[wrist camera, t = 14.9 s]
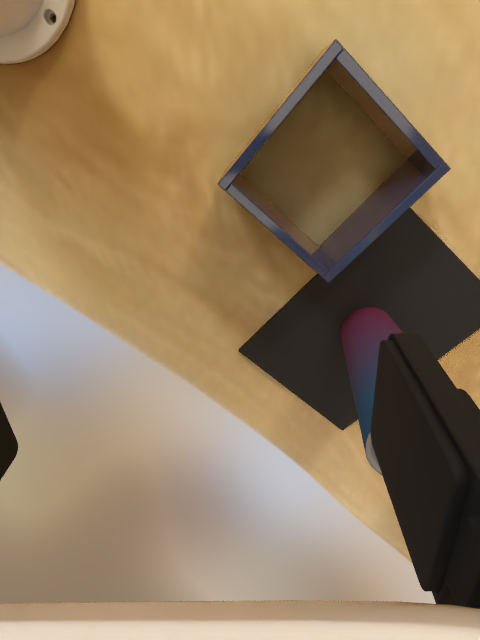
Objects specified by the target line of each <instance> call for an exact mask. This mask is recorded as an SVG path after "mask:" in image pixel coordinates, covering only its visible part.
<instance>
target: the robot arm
mask: <svg viewBox="0 0 480 640" xmlns="http://www.w3.org/2000/svg"><path fill="white" fill-rule="evenodd" d="M74 3H75V0H0V64H12V63H21V62H24V61H28V60H31V59H34V58H36V57H37V56H39V55H41V54H42V53H44V52H45V51H47V50H48V49H49V48H50V47H51V46H52V45H53V44H54V43H55V42H56V41H57V40H58V39H59V37H60V36H61V34H62V32H63V31H64V29H65V27H66V26H67V24H68V21H69V19H70V16H71V13H72V10H73V8H74ZM54 15H56V22H55V23H54V22H53V19H52V18H53V16H54ZM370 434H371V442H372V446H373V449H374V452H375V455H376V458H377V461H378V463H379V466H380V469H381V472H382V475H383V478H384V481H385V484H386V487H387V490H388V493H389V496H390V498H391V501H392V504H393V507H394V510H395V513H396V516H397V519H398V522H399V525H400V528H401V531H402V533H403V536H404V539H405V542H406V545H407V548H408V551H409V554H410V557H411V560H412V563H413V566H414V568H415V571H416V574H417V577H418V580H419V583H420V585H421V587H422V589H423V590H424V591H432V593H433V596H434V599H435V602H436V604H427V603H410V602H377V601H376V602H374V601H370V602H369V601H184V602H183V601H173V602H172V601H171V602H77V603H7V604H6V603H2V604H0V640H480V410H479V408H478V407H477V405H476V404H475V403H474V401H473V400H472V399H471V397H470V396H469V395H468V394H467V392H466V391H465V390H462V389H457V388H456V387H455V385H454V384H453V382H452V381H451V380H450V378H449V377H448V375H447V374H446V372H445V371H444V369H443V368H442V367H441V365H440V364H439V362H438V361H437V359H436V358H435V357H434V355H433V354H432V352H431V351H430V349H429V348H428V346H427V345H426V344H425V342H424V341H423V339H422V338H421V336H420V335H419V334H418V333H417V332H409V333H391V334H390V335H389V337H388V340H382V341H381V342H380V346H379V354H378V364H377V373H376V382H375V392H374V401H373V410H372V420H371V430H370ZM17 451H18V443H17V440H16V437H15V435H14V433H13V431H12V428H11V426H10V424H9V422H8V419H7V417H6V415H5V412H4V410H3V408H2V405H1V403H0V480H1V478H2V477H3V475H4V474H5V472H6V470H7V469H8V468H9V466H10V464H11V463H12V461H13V460H14V458H15V456H16V454H17Z"/></svg>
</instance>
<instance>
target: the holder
mask: <svg viewBox="0 0 480 640" xmlns="http://www.w3.org/2000/svg"><path fill="white" fill-rule="evenodd" d="M325 70H327V71H328V72H329V74H330V75H331V76H332V77H333V78H334V79H335V80H336V81H337V82H338V83H339V84H340V86H341V87H342V88H343V89H344V90H345V91H346V92H347V93H348V94H349V95H350V96H351V98H352V99H353V100H354V101H355V102H356V103H357V104H358V105H359V106H360V107H361V108H362V110H363V111H364V112H365V113H366V114H367V115H368V116H369V117H370V118H371V119H372V120H373V122H374V123H375V124H376V125H377V126H378V127H379V128H380V129H381V130H382V131H383V132H384V134H385V135H386V136H387V137H388V138H389V139H390V140H391V141H392V142H393V143H394V144H395V146H396V147H397V148H398V149H399V150H400V151H401V152H402V153H403V154H404V155H405V156H406V158H408V159H407V160H406V161H405V162H404V163H403V164H402V165H401V166H400V167H399V168H398V169H397V170H396V171H395V172H394V173H393V174H392V175H391V176H390V177H389V178H388V179H387V180H386V181H385V182H384V183H383V184H382V185H381V186H380V187H379V188H378V189H377V190H376V191H375V192H374V193H373V194H372V195H371V196H370V197H369V198H368V199H367V200H366V201H365V202H364V203H363V204H362V205H361V206H360V207H359V208H358V209H357V210H356V211H355V212H354V213H353V214H352V215H351V216H350V217H349V218H348V219H347V220H346V221H345V222H344V223H343V224H342V225H341V226H340V227H339V228H338V229H337V230H336V231H335V232H334V233H333V234H332V235H331V236H330V237H329V238H328V239H327V240H326V241H325V242H324V243H323V244H322V245H321V246H320V247H319V246H318V245H317V244H316V243H314V242H313V241H312V240H311V239H310V238H309V237H308V236H307V235H306V234H305V233H304V232H302V231H301V230H300V229H299V228H298V227H297V226H296V225H295V224H294V223H293V222H292V221H290V220H289V219H288V218H287V217H286V216H285V215H284V214H283V213H282V212H281V211H280V210H278V209H277V208H276V207H275V206H274V205H273V204H272V203H271V202H270V201H269V200H268V199H266V198H265V197H264V196H263V195H262V194H261V193H260V192H259V191H258V190H257V189H256V188H255V187H253V186H252V185H251V184H250V183H249V182H248V181H247V180H246V179H245V178H244V177H243V176H241V175H240V172H241V171H242V170H243V169H244V168H245V166H246V165H247V164H248V163H249V161H250V160H251V159H252V158H253V157H254V155H255V154H256V153H257V152H258V151H259V149H260V148H261V147H262V146H263V145H264V143H265V142H266V141H267V140H268V139H269V137H270V136H271V135H272V134H273V133H274V131H275V130H276V129H277V128H278V127H279V125H280V124H281V123H282V122H283V121H284V119H285V118H286V117H287V116H288V115H289V113H290V112H291V111H292V110H293V109H294V107H295V106H296V105H297V104H298V103H299V101H300V100H301V99H302V98H303V97H304V95H305V94H306V93H307V92H308V91H309V89H310V88H311V87H312V86H313V85H314V83H315V82H316V81H317V80H318V79H319V77H320V76H321V75H322V74H323V73H324V71H325ZM449 170H450V167H449V166H448V165H447V164H446V163H445V162H444V160H443V159H442V158H441V157H440V156H439V155H438V154H437V152H436V151H435V150H434V149H433V148H432V147H431V146H430V144H429V143H428V142H427V141H426V140H425V139H424V138H423V137H422V135H421V134H420V133H419V132H418V131H417V130H416V129H415V128H414V126H413V125H412V124H411V123H410V122H409V121H408V120H407V118H406V117H405V116H404V115H403V114H402V113H401V112H400V111H399V109H398V108H397V107H396V106H395V105H394V104H393V103H392V102H391V100H390V99H389V98H388V97H387V96H386V95H385V94H384V92H383V91H382V90H381V89H380V88H379V87H378V86H377V85H376V83H375V82H374V81H373V80H372V79H371V78H370V77H369V76H368V74H367V73H366V72H365V71H364V70H363V69H362V68H361V66H360V65H359V64H358V63H357V62H356V61H355V60H354V59H353V57H352V56H351V55H350V54H349V53H348V52H347V51H346V50H345V49H343V46H342V45H341V44H340V43H339V42H338V41H337V40H334V41H333V42H332V43H331V44H329V45H328V46H327V47H326V48H325V49H323V50H322V51H321V52H320V54H319V55H318V56H317V57H316V59H315V60H314V61H313V62H312V64H311V65H310V66H309V67H308V68H307V70H306V71H305V72H304V73H303V75H302V76H301V77H300V78H299V80H298V81H297V82H296V83H295V84H294V86H293V87H292V88H291V89H290V91H289V92H288V93H287V94H286V96H285V97H284V98H283V99H282V100H281V102H280V103H279V104H278V105H277V107H276V108H275V109H274V110H273V112H272V113H271V114H270V115H269V116H268V118H267V119H266V120H265V121H264V123H263V124H262V125H261V126H260V128H259V129H258V130H257V131H256V132H255V134H254V135H253V136H252V137H251V139H250V140H249V141H248V142H247V144H246V145H245V146H244V147H243V148H242V150H241V151H240V152H239V153H238V155H237V156H236V157H235V158H234V160H233V161H232V162H231V163H230V164H229V166H228V167H227V168H226V169H225V171H224V173H223V174H222V176H221V178H220V180H219V182H218V185H219V186H220V187H221V188H223V189H224V190H226V192H227V193H228V194H229V195H230V196H232V197H233V198H234V199H235V200H236V201H237V202H238V203H239V204H240V205H242V206H243V207H244V208H245V209H246V210H247V211H248V212H249V213H251V214H252V215H253V216H254V217H255V218H256V219H257V220H258V221H260V222H261V223H262V224H263V225H264V226H265V227H266V228H267V229H269V230H270V231H271V232H272V233H273V234H274V235H275V236H276V237H277V238H279V239H280V240H281V241H282V242H283V243H284V244H285V245H286V246H288V247H289V248H290V249H291V250H292V251H293V252H294V253H295V254H297V255H298V256H299V257H300V258H301V259H302V260H303V261H304V262H306V263H307V264H308V265H309V266H310V267H311V268H312V269H313V270H314V271H316V272H317V273H318V274H319V275H320V276H321V277H323V279H324V280H326V281H327V282H328V283H329V282H330V281H332V280H333V279H334V278H335V277H336V276H337V275H338V274H339V273H340V272H341V271H342V270H343V269H344V268H345V267H346V266H348V265H349V264H350V263H351V262H352V261H353V260H354V259H355V258H356V257H357V256H358V255H359V254H360V253H361V252H362V251H364V250H365V249H366V248H367V247H368V246H369V245H370V244H371V243H372V242H373V241H374V240H375V239H376V238H377V237H378V236H380V235H381V234H382V233H383V232H384V231H385V230H386V229H387V228H388V227H389V226H390V225H391V224H392V223H393V222H394V221H396V220H397V219H398V218H399V217H400V216H401V215H402V214H403V213H404V212H405V211H406V210H407V209H408V208H409V207H410V206H412V205H413V204H414V203H415V202H416V201H417V200H418V199H419V198H420V197H421V196H422V195H423V194H424V193H425V192H426V191H427V190H429V189H430V188H431V187H432V186H433V185H434V184H435V183H436V182H437V181H438V180H439V179H440V178H441V177H442V176H443V175H445V174H446V173H447V172H448V171H449Z"/></svg>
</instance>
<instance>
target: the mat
mask: <svg viewBox="0 0 480 640" xmlns="http://www.w3.org/2000/svg"><path fill="white" fill-rule="evenodd" d="M364 307H375V308H379V309H382V310H383V311H385V312H386V313H388V314H389V315H390V317H391V318H392V319H393V321H394V322H395V323H396V324H397V326H398V327H399V328H400V330H401V331H402V332H403V333H409V332H417V333H418V334H419V335H420V336H421V338H422V339H423V341H424V342H425V344H426V345H427V346H428V348H429V349H430V351H431V352H432V354H433V355H434V357H435V358H436V359H437V360H438V359H439V358H440V357H442V356H443V355H444V354H446V353H447V352H449V351H450V350H451V349H453V348H454V347H455V346H457V345H458V344H459V343H461V342H462V341H463V340H465V339H466V338H467V337H469V336H470V335H471V334H473V333H474V332H475V331H477V330H478V329H479V328H480V280H479V279H478V278H477V277H476V276H475V275H474V274H473V273H472V272H471V271H470V270H469V269H468V268H467V266H466V265H465V264H464V263H463V262H462V261H461V260H460V259H459V258H458V257H457V256H456V255H455V254H454V253H453V252H452V251H451V250H450V249H449V248H448V247H447V246H446V245H445V244H444V243H443V241H442V240H441V239H440V238H439V237H438V236H437V235H436V234H435V233H434V232H433V231H432V230H431V229H430V228H429V227H428V226H427V225H426V224H425V223H424V222H423V221H422V220H421V219H420V217H419V216H418V215H417V214H416V213H415V212H414V211H413V210H412V209H411V208H410V207H409V208H408V209H407V210H406V211H405V212H404V213H403V214H402V215H401V216H400V217H399V218H398V219H397V220H396V221H394V222H393V223H392V224H391V225H390V226H389V227H388V228H387V229H386V230H385V231H384V232H383V233H382V234H381V235H380V236H378V237H377V238H376V239H375V240H374V241H373V242H372V243H371V244H370V245H369V246H368V247H367V248H366V249H365V250H364V251H362V252H361V253H360V254H359V255H358V256H357V257H356V258H355V259H354V260H353V261H352V262H351V263H350V264H349V265H348V266H346V267H345V268H344V269H343V270H342V271H341V272H340V273H339V274H338V275H337V276H336V277H335V278H334V279H333V280H332V281H330V282H329V283H328V282H327V281H326V280H324V279H323V277H321V276H320V275H319V274H317V275H316V276H315V277H314V278H313V279H312V280H311V281H310V282H309V283H307V284H306V285H305V286H304V287H303V288H302V289H301V290H300V291H299V292H298V293H297V294H296V295H295V296H294V297H293V298H292V299H291V300H290V301H289V302H288V303H287V304H286V305H285V306H284V307H283V308H281V309H280V310H279V311H278V312H277V313H276V314H275V315H274V316H273V317H272V318H271V319H270V320H269V321H268V322H267V323H266V324H265V325H264V326H263V327H262V328H261V329H260V330H259V331H258V332H257V333H256V334H254V335H253V336H252V337H251V338H250V339H249V340H248V341H247V342H246V343H245V344H244V345H243V346H242V347H241V348H240V349H239V352H240V353H242V354H243V355H244V356H246V357H247V358H248V359H250V360H251V361H252V362H253V363H255V364H256V365H257V366H259V367H260V368H261V369H263V370H264V371H265V372H267V373H268V374H269V375H271V376H272V377H273V378H274V379H276V380H277V381H278V382H280V383H281V384H282V385H284V386H285V387H286V388H288V389H289V390H290V391H291V392H293V393H294V394H295V395H297V396H298V397H299V398H301V399H302V400H303V401H305V402H306V403H307V404H309V405H310V406H311V407H312V408H314V409H315V410H316V411H318V412H319V413H320V414H322V415H323V416H324V417H326V418H327V419H328V420H329V421H331V422H332V423H333V424H335V425H336V426H337V427H339V428H340V429H341V430H344V429H345V428H347V427H348V426H349V425H351V424H352V423H353V422H355V421H356V420H357V419H358V415H357V411H356V406H355V401H354V397H353V392H352V388H351V383H350V378H349V374H348V369H347V365H346V360H345V355H344V351H343V346H342V342H341V337H340V328H341V325H342V323H343V321H344V320H345V318H346V317H347V316H348V315H349V314H350V313H352V312H354V311H355V310H358V309H360V308H364Z"/></svg>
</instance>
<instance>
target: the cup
mask: <svg viewBox="0 0 480 640" xmlns="http://www.w3.org/2000/svg"><path fill="white" fill-rule="evenodd" d="M391 333H403V332H402V331H401V330H400V328H399V327H398V326H397V324H396V323H395V322H394V321H393V319H392V318H391V317H390V315H389V314H388V313H386V312H385V311H383V310H382V309H379V308H375V307H364V308H360V309H358V310H355V311H354V312H352V313H350V314H349V315H348V316H347V317H346V318H345V320H344V321H343V323H342V325H341V328H340V337H341V342H342V346H343V351H344V355H345V360H346V365H347V369H348V374H349V378H350V383H351V388H352V392H353V397H354V401H355V406H356V411H357V415H358V420H359V424H360V429H361V434H362V438H363V443H364V447H365V452H366V457H367V459H368V461H369V463H370V465H371V466H372V467H373V468H374V469H375V470H376V471H377V472H378V473H380V474H381V475H382V472H381V469H380V466H379V463H378V461H377V458H376V455H375V452H374V449H373V446H372V442H371V434H370V430H371V420H372V410H373V401H374V392H375V382H376V373H377V364H378V354H379V346H380V342H381V341H382V340H388V337H389V335H390V334H391ZM382 476H383V475H382Z"/></svg>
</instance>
